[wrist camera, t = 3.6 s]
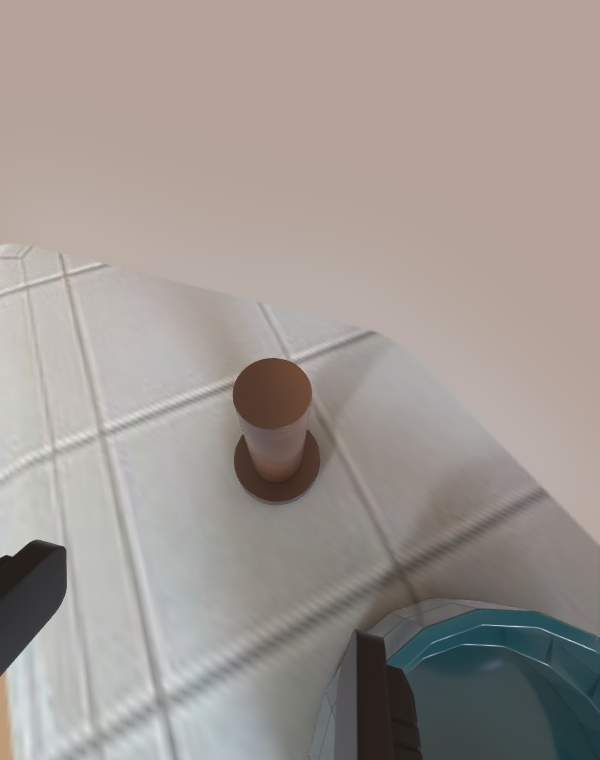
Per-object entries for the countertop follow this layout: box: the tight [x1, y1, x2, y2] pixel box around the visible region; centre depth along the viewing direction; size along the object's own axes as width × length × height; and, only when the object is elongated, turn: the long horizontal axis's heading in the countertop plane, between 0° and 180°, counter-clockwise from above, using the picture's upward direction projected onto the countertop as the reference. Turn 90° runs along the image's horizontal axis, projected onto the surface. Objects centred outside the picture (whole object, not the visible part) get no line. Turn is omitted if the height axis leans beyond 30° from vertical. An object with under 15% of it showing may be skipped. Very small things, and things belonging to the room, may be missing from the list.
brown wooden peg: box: [233, 358, 320, 505], centre depth 19 cm, size 5×5×11 cm
